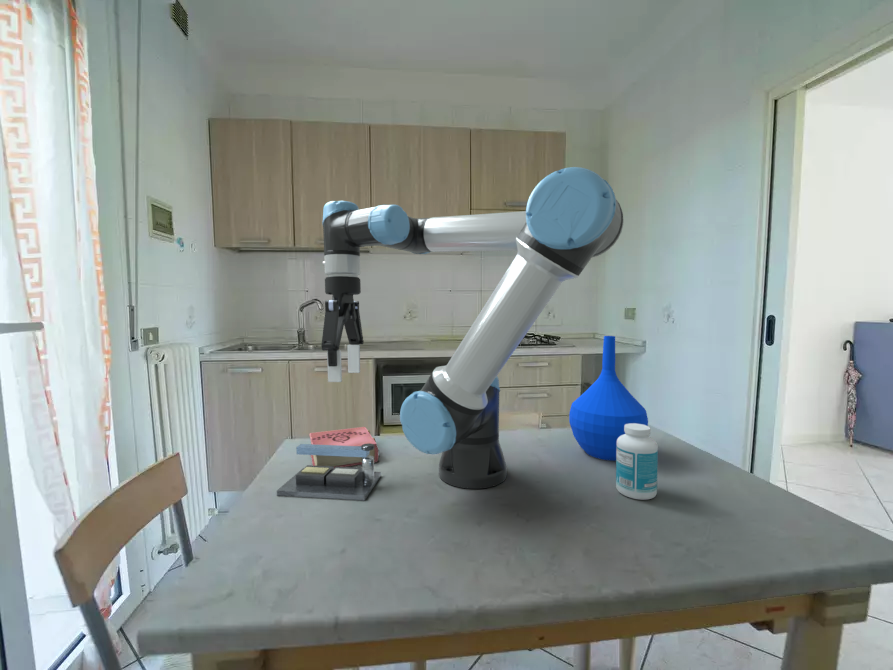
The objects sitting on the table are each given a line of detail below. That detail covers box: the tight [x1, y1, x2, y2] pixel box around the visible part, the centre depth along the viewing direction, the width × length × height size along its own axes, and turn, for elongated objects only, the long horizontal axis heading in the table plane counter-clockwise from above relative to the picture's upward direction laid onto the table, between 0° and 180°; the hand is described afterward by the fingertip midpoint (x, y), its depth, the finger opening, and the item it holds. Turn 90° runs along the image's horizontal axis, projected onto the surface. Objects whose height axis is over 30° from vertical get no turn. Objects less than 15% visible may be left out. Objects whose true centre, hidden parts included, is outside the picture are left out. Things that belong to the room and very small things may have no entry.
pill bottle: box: [615, 423, 659, 501], centre depth 79 cm, size 8×7×14 cm
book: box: [309, 426, 379, 468], centre depth 99 cm, size 14×15×5 cm
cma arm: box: [296, 443, 374, 457], centre depth 82 cm, size 16×3×2 cm, turn 83°
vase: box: [568, 335, 649, 462], centre depth 99 cm, size 18×18×30 cm
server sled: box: [276, 456, 382, 501], centre depth 83 cm, size 18×11×6 cm, turn 83°
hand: (345, 376), depth 87 cm, fingers open, 11 cm apart
